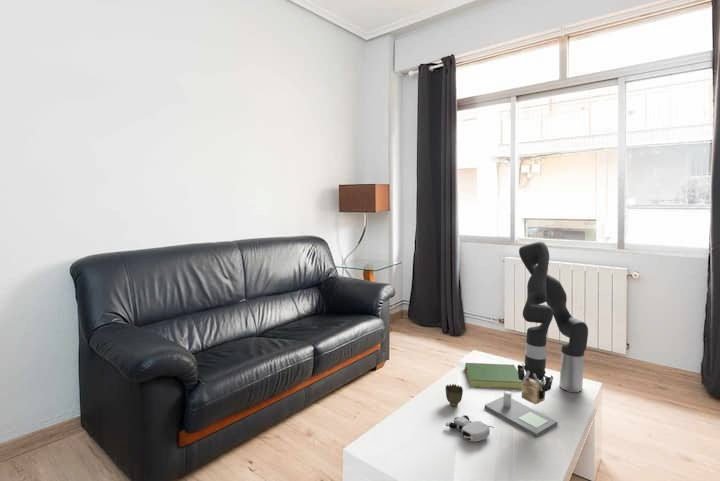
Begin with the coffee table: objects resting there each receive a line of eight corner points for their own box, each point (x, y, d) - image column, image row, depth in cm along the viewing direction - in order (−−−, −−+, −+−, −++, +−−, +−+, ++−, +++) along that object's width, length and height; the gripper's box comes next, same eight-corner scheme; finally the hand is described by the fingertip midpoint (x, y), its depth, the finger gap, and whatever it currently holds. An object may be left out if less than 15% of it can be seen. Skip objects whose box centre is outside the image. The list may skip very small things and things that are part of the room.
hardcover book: (513, 371, 202) (513, 364, 201) (524, 389, 183) (524, 382, 183) (463, 369, 205) (464, 362, 204) (469, 387, 186) (469, 379, 186)
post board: (505, 398, 175) (506, 382, 174) (557, 425, 155) (558, 407, 154) (484, 408, 167) (485, 391, 166) (536, 437, 147) (537, 418, 146)
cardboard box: (521, 397, 156) (522, 382, 155) (530, 393, 159) (531, 378, 158) (535, 404, 151) (536, 388, 150) (544, 400, 154) (545, 384, 153)
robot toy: (443, 431, 153) (473, 449, 141) (443, 420, 153) (473, 437, 140) (465, 421, 160) (495, 437, 147) (464, 410, 160) (495, 425, 147)
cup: (463, 410, 165) (463, 393, 164) (445, 409, 167) (445, 391, 166) (462, 401, 173) (462, 384, 172) (445, 400, 174) (445, 383, 173)
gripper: (513, 350, 157) (511, 390, 159) (547, 363, 145) (544, 406, 147) (525, 346, 161) (523, 385, 163) (558, 358, 149) (556, 400, 151)
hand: (533, 395), depth 155 cm, fingers closed on cardboard box, 6 cm apart
